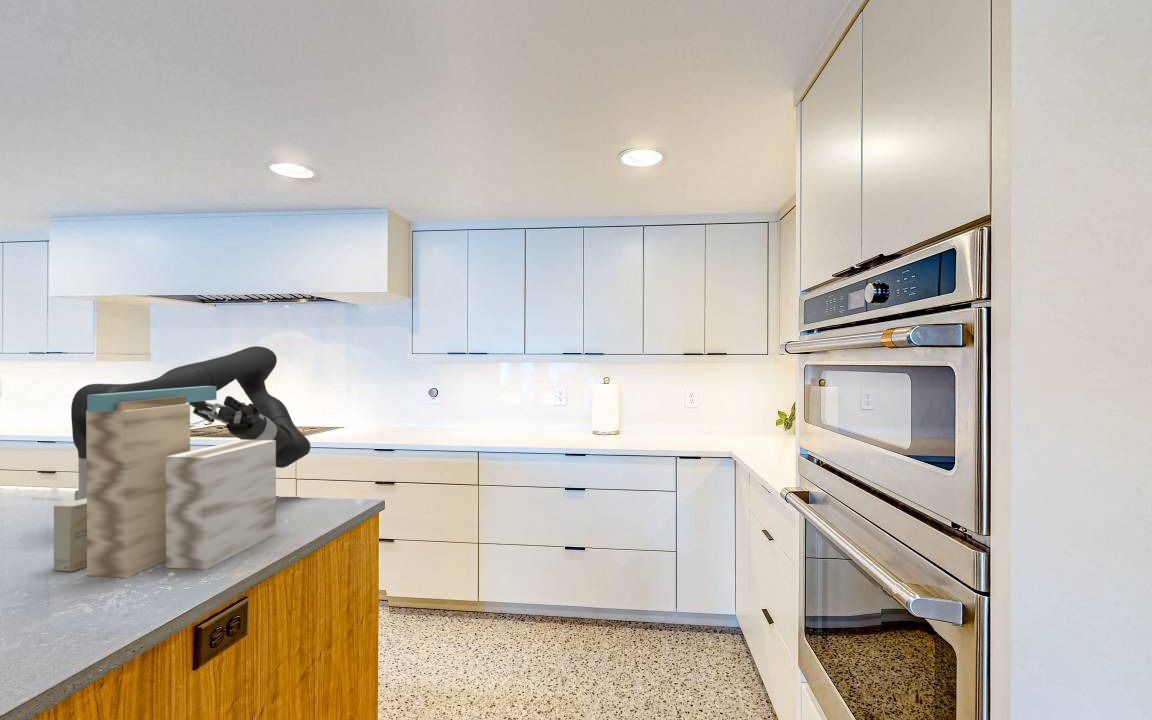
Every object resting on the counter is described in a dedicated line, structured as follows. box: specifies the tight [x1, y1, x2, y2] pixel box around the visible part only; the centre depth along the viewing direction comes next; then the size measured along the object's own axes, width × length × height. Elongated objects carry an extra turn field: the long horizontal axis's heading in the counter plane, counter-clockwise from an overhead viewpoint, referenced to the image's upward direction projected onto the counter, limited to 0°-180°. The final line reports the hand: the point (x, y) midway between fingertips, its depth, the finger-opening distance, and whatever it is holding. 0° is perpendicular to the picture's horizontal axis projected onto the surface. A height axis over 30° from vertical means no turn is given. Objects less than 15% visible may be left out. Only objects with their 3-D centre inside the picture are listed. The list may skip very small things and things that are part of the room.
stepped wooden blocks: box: [86, 396, 277, 579], centre depth 110 cm, size 19×25×32 cm
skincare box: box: [53, 498, 87, 572], centre depth 103 cm, size 6×4×12 cm
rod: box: [87, 386, 217, 412], centre depth 108 cm, size 3×26×3 cm, turn 174°
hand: (208, 399), depth 121 cm, fingers open, 8 cm apart
